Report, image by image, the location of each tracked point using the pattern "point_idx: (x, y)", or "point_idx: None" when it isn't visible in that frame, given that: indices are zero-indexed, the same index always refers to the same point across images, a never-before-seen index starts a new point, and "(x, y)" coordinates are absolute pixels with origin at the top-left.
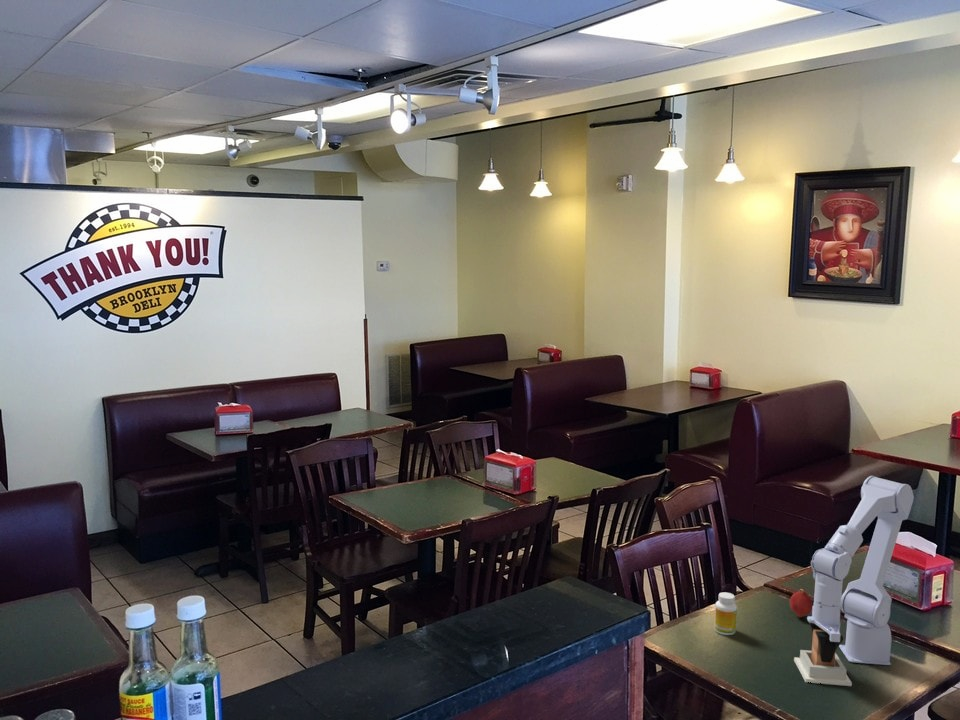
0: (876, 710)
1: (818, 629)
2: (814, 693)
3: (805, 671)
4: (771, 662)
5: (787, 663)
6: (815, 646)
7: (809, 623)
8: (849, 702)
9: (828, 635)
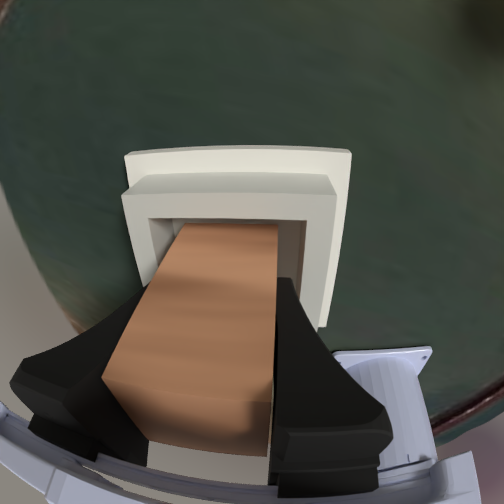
0: (67, 315)
1: (262, 421)
2: (66, 172)
3: (196, 169)
4: (306, 23)
5: (310, 103)
6: (191, 298)
7: (306, 427)
8: (66, 268)
9: (33, 425)
